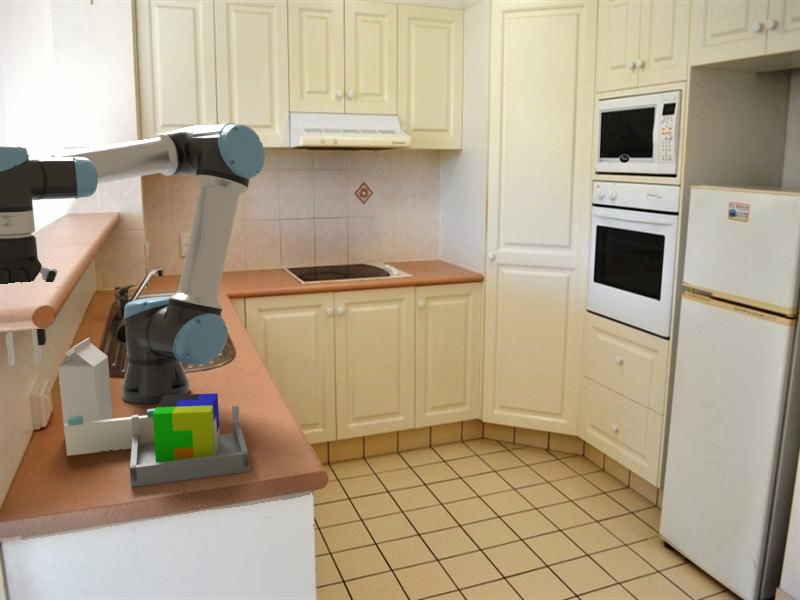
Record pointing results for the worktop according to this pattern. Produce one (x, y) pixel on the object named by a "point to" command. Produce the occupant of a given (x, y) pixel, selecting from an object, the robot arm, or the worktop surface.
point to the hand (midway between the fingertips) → (25, 363)
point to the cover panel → (105, 434)
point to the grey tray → (225, 461)
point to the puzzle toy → (186, 427)
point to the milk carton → (85, 384)
